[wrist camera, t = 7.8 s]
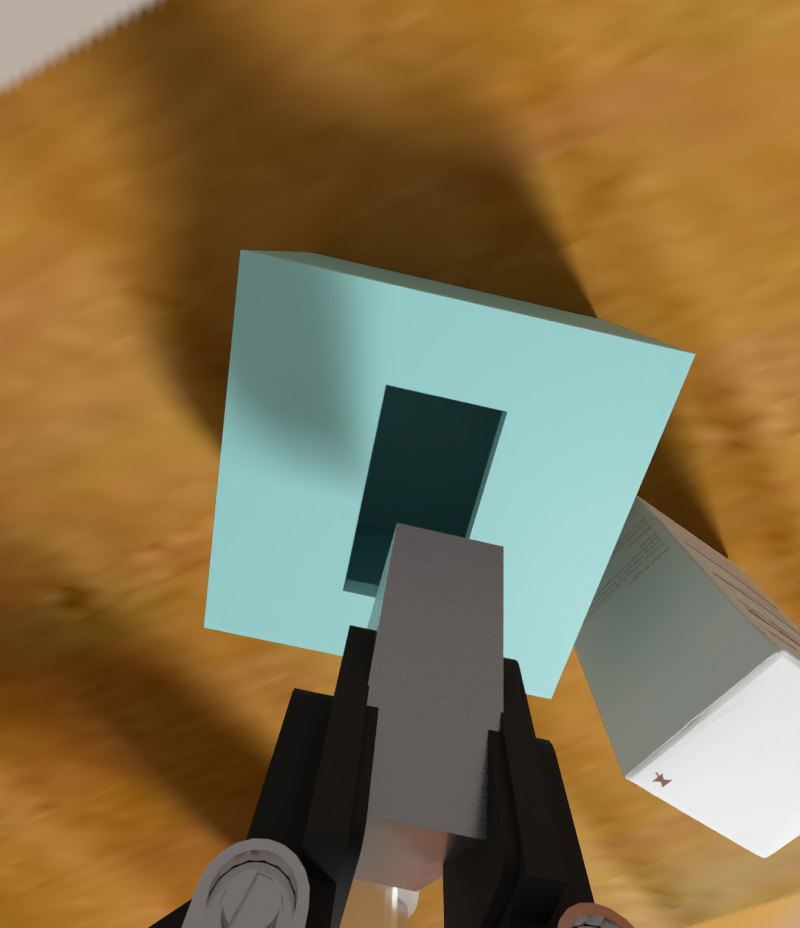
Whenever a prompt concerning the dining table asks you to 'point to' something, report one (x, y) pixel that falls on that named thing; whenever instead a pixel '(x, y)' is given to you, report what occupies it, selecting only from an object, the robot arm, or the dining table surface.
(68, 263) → the dining table surface
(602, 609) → the supplement box
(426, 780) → the grey metal block
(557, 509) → the coin box
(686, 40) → the dining table surface
